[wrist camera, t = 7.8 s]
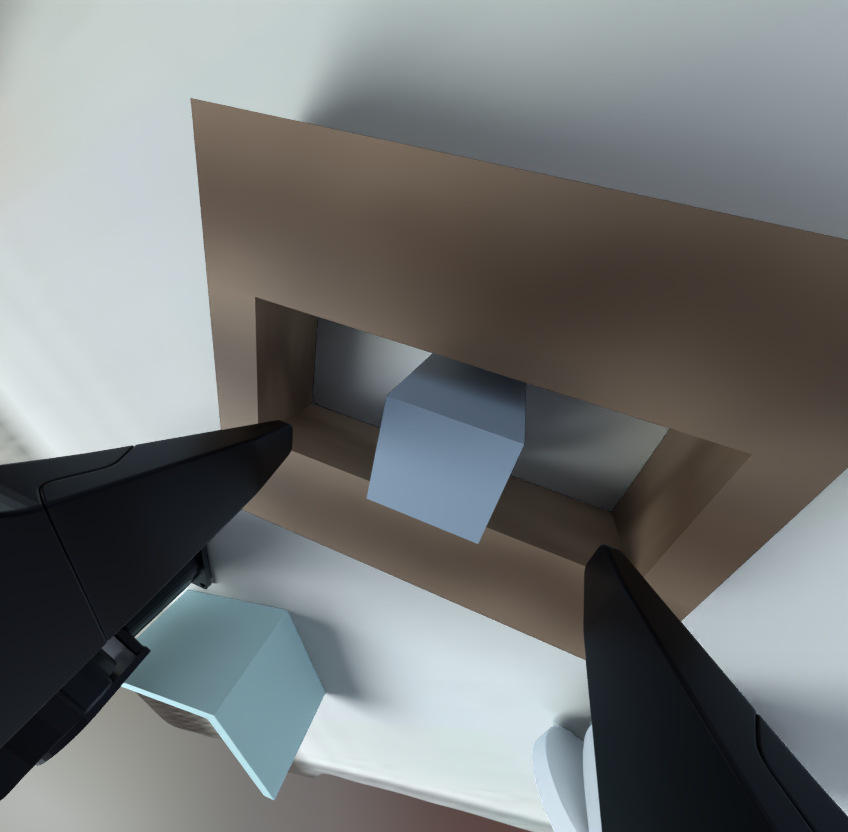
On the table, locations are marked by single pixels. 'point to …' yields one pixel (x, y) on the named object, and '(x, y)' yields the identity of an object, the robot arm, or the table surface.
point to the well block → (524, 353)
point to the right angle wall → (234, 678)
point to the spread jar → (567, 780)
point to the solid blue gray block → (448, 445)
